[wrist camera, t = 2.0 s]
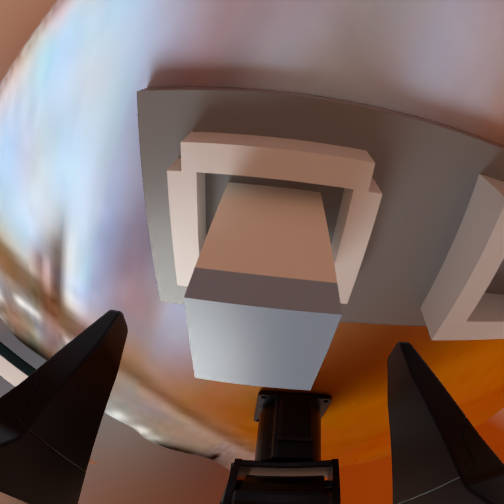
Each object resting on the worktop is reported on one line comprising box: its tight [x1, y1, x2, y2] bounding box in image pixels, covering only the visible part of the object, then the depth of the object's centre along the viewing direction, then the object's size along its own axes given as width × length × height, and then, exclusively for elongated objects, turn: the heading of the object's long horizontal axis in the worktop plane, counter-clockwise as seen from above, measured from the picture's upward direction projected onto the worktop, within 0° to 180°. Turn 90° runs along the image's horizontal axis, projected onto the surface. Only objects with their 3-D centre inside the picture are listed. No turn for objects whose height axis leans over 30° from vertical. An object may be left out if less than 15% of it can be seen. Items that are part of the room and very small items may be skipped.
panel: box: [137, 87, 504, 340], centre depth 14 cm, size 12×26×4 cm, turn 86°
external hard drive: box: [0, 342, 37, 387], centre depth 34 cm, size 24×12×2 cm, turn 46°
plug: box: [184, 182, 342, 390], centre depth 12 cm, size 4×4×7 cm
